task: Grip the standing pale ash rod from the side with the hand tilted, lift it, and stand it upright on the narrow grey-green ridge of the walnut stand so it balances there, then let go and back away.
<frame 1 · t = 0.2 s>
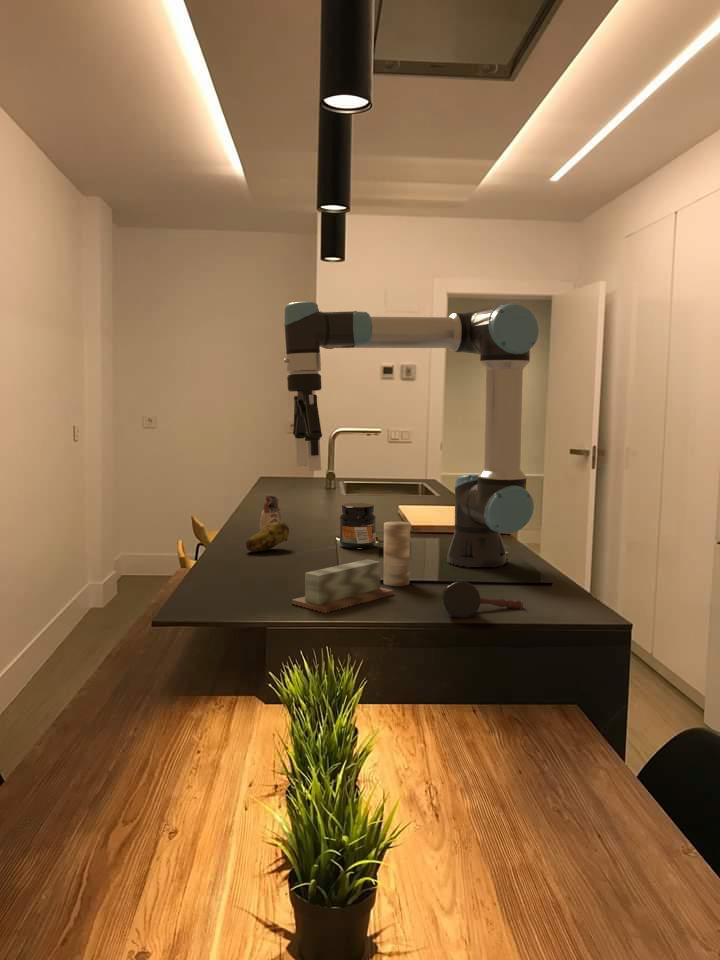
hand: (308, 468, 189), 27 cm above the table, tool pointing down, fingers open, 13 cm apart
figurine: (271, 533, 263), on the table
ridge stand: (343, 599, 179), on the table
supplement container: (357, 547, 240), on the table
potato: (267, 551, 233), on the table
rod: (396, 583, 195), on the table
coffee pot: (483, 614, 170), on the table
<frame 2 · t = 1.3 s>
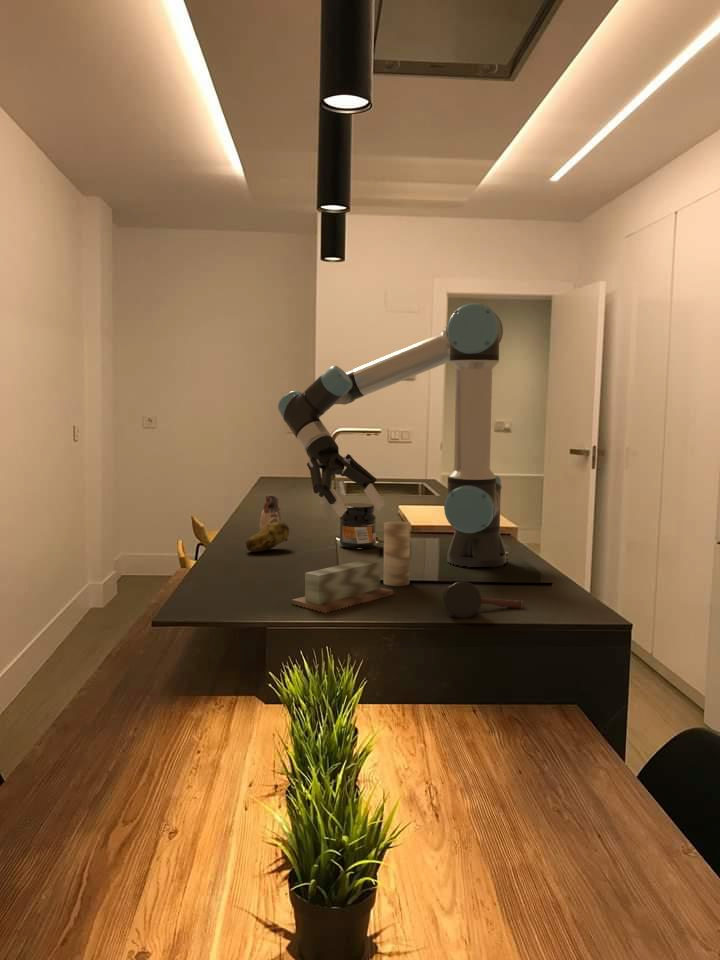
hand: (363, 510, 200), 16 cm above the table, tool tilted 45°, fingers open, 13 cm apart
nothing on the table moved.
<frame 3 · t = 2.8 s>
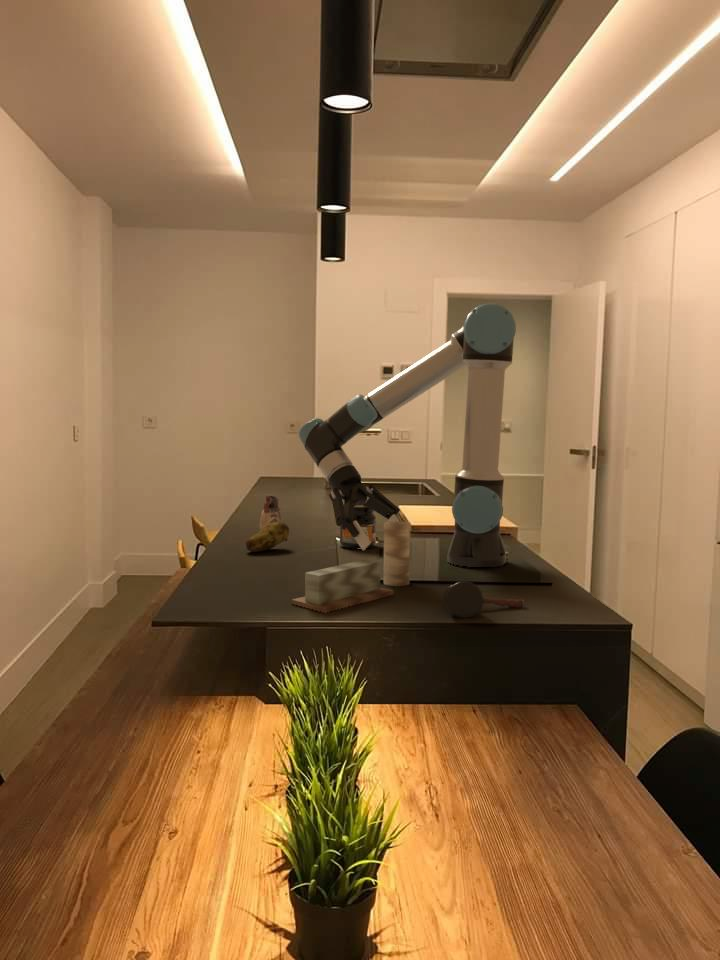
hand: (386, 542, 195), 9 cm above the table, tool tilted 45°, fingers open, 13 cm apart
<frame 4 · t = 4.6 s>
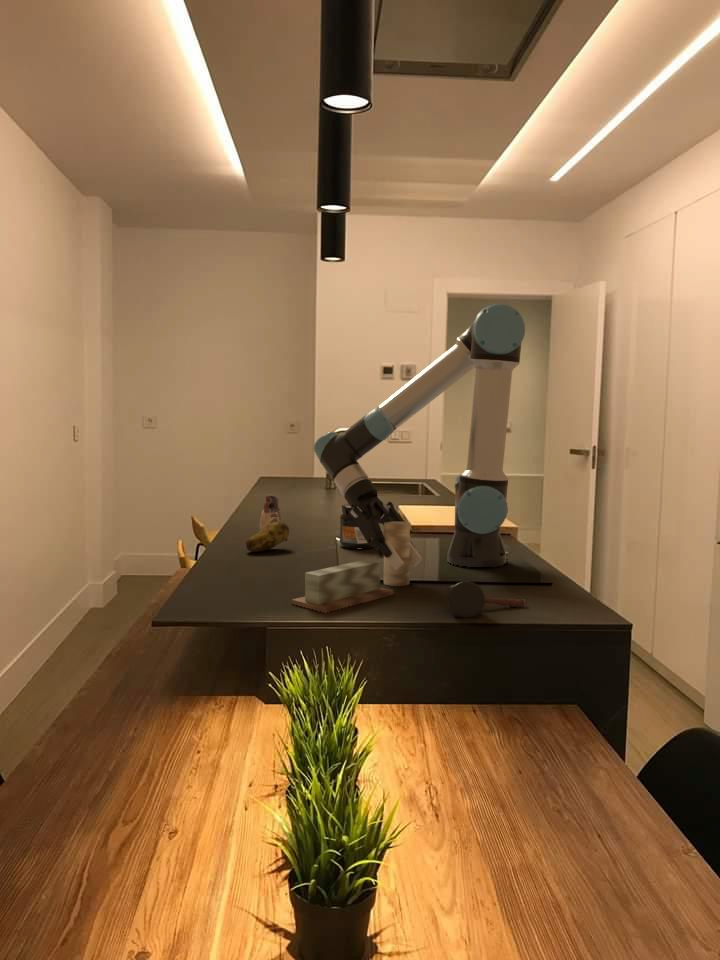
hand: (408, 564, 192), 5 cm above the table, tool tilted 45°, fingers closed on rod, 6 cm apart
rod: (396, 583, 195), on the table, touching gripper
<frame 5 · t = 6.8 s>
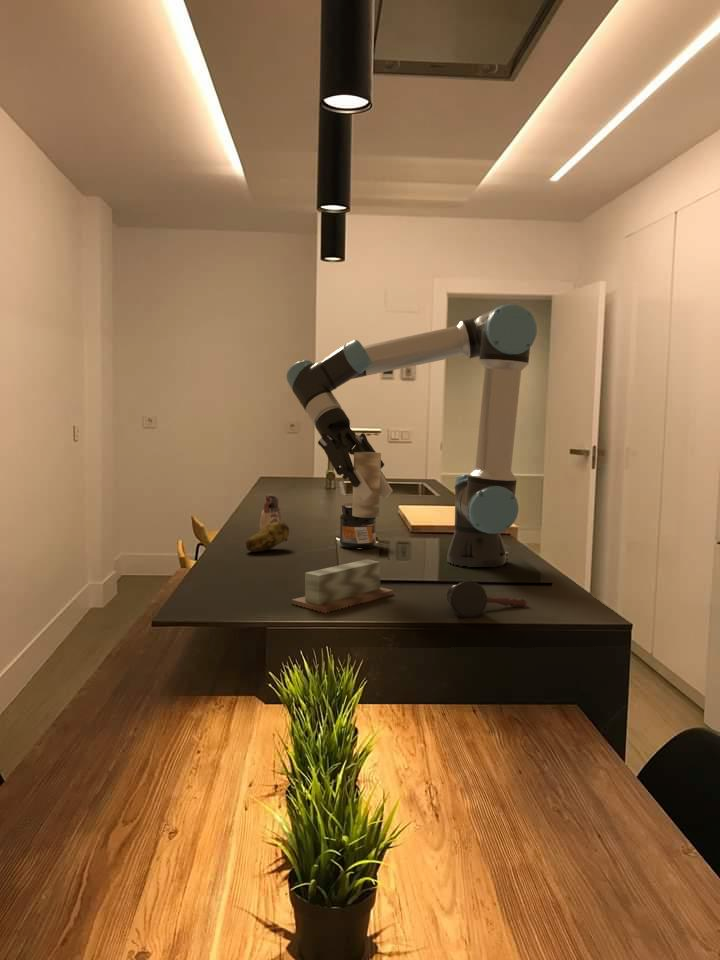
hand: (378, 495, 184), 22 cm above the table, tool tilted 45°, fingers closed on rod, 6 cm apart
rod: (365, 515, 187), point 17 cm above the table, touching gripper
when the fingers open (13 cm above the table, at t = 9.2 s): rod stays where it is, resting on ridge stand.
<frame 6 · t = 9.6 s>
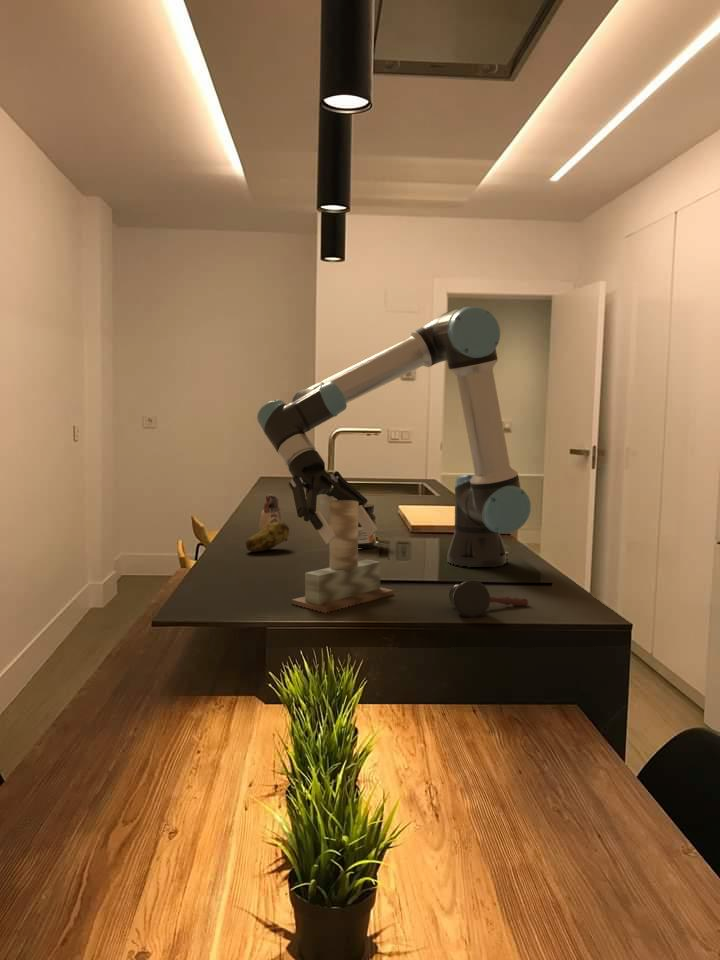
hand: (352, 536, 176), 14 cm above the table, tool tilted 45°, fingers open, 12 cm apart
rod: (343, 566, 179), point 7 cm above the table, touching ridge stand
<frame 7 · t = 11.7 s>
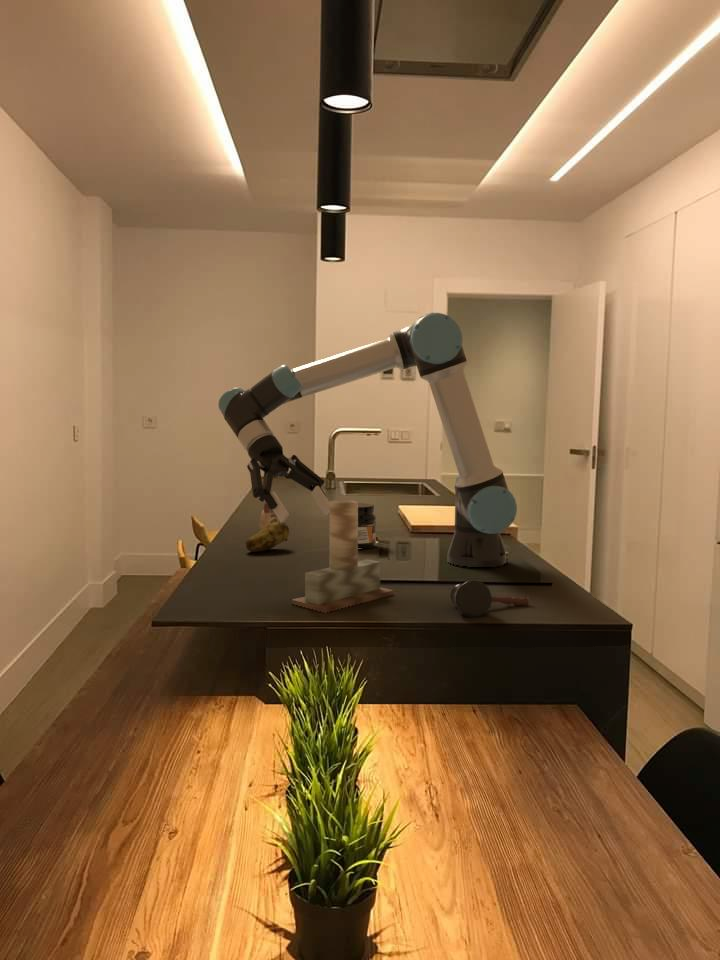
hand: (307, 515, 186), 17 cm above the table, tool tilted 45°, fingers open, 13 cm apart
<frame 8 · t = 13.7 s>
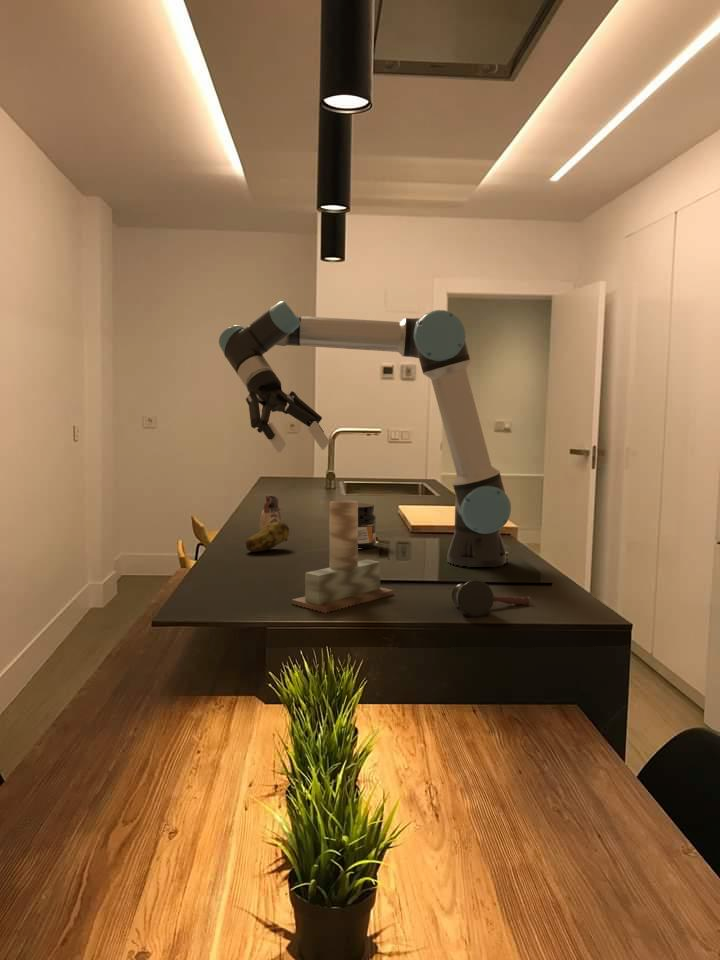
hand: (304, 447, 189), 32 cm above the table, tool tilted 45°, fingers open, 13 cm apart
at the end: rod point 7.0 cm above the table; rod tilted 0°; rod touching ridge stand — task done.
